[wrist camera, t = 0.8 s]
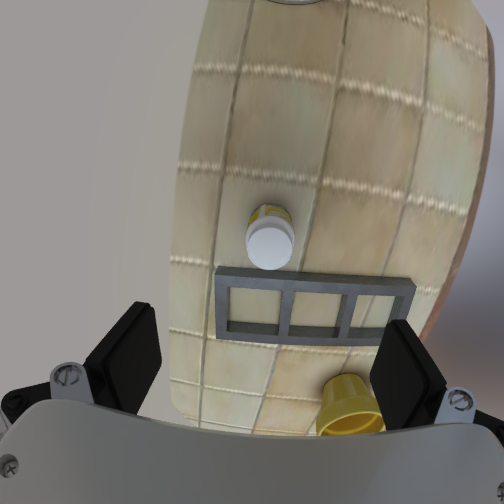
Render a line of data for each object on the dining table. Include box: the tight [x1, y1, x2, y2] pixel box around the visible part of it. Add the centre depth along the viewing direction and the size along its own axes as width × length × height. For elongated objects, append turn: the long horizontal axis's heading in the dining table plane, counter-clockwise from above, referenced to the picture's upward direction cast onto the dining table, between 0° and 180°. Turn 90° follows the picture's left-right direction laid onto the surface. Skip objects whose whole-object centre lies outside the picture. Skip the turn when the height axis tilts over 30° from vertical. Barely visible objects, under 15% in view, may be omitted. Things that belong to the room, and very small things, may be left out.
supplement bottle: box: [245, 204, 295, 270], centre depth 29 cm, size 5×5×8 cm
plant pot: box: [316, 374, 385, 436], centre depth 37 cm, size 10×10×10 cm
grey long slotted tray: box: [215, 266, 417, 346], centre depth 35 cm, size 9×25×2 cm, turn 88°
